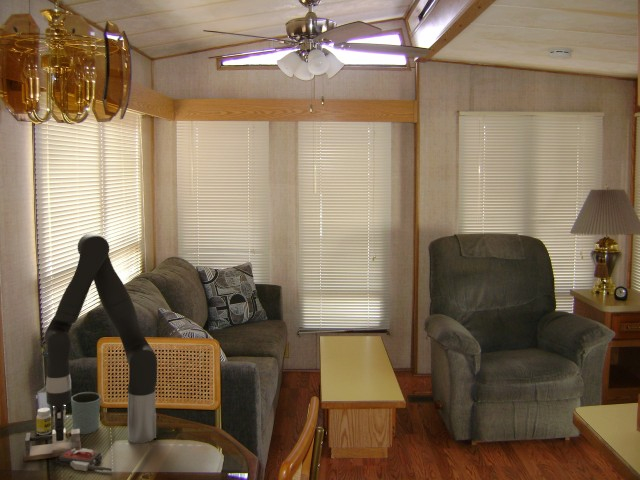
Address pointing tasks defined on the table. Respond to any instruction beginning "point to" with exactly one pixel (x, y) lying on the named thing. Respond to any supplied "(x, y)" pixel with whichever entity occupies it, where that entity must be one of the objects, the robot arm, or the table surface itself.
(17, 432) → the table surface
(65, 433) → the sleeve
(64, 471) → the table surface
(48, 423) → the supplement bottle
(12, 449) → the table surface
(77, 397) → the blue-grey cylindrical pot
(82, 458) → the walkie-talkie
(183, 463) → the table surface
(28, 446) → the linear slider rail
